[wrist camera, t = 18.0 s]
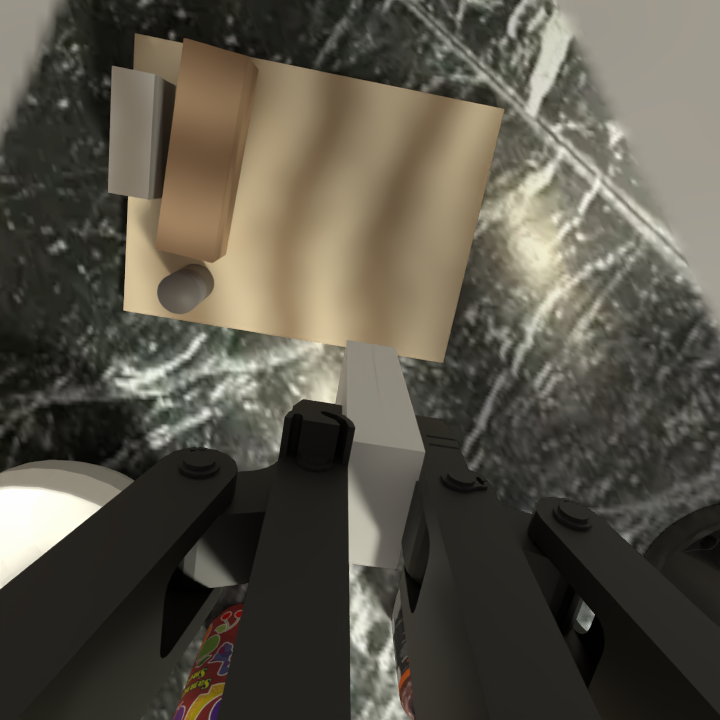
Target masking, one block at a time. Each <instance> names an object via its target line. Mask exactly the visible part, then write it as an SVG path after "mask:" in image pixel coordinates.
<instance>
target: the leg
mask: <svg viewBox="0 0 720 720" xmlns="http://www.w3.org/2000/svg"><path fill="white" fill-rule="evenodd" d="M258 71H259V70H258V68H257V67H256V66H255V65H254V63H253V62H252V61H251V60H250V58H249V57H248V56H245V55H242V54H238V53H235V52H232V51H228V50H225V49H221V48H218V47H214V46H211V45H207V44H204V43H201V42H197V41H194V40H190V39H187V38H184V40H183V47H182V55H181V62H180V69H179V77H178V84H177V92H176V99H175V106H174V114H173V121H172V129H171V136H170V143H169V151H168V158H167V165H166V173H165V180H164V188H163V195H162V202H161V210H160V217H159V225H158V232H157V239H156V247H155V249H157V250H161V251H165V252H169V253H173V254H177V255H181V256H185V257H189V258H193V259H197V260H201V261H206V262H210V263H214V262H215V261H217V260H218V259H220V258H222V257H223V256H225V255H226V252H227V246H228V240H229V235H230V229H231V223H232V218H233V212H234V206H235V201H236V195H237V190H238V184H239V178H240V173H241V167H242V161H243V156H244V150H245V144H246V139H247V133H248V127H249V122H250V116H251V110H252V105H253V99H254V94H255V88H256V82H257V77H258Z"/></svg>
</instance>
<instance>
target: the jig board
mask: <svg viewBox="0 0 720 720" xmlns="http://www.w3.org/2000/svg"><path fill="white" fill-rule="evenodd" d="M182 47H183V43H180V42H175V41H170V40H165V39H160V38H155V37H150V36H146V35H141V34H136V33H135V44H134V68H133V70H131V69H126V68H121V67H116V66H112V80H111V114H110V148H109V182H108V192H109V193H114V194H120V195H125V196H128V215H127V239H126V264H125V288H124V311H130V312H136V313H142V314H148V315H155V316H161V317H167V318H173V319H179V320H185V321H191V322H197V323H203V324H209V325H215V326H221V327H227V328H234V329H240V330H246V331H252V332H258V333H264V334H270V335H276V336H282V337H288V338H294V339H300V340H306V341H313V342H319V343H325V344H331V345H337V346H343V347H346V342H347V340H351V341H357V342H363V343H369V344H375V345H381V346H387V347H394V348H396V352H397V355H398V356H404V357H410V358H416V359H422V360H428V361H434V362H440V363H443V361H444V357H445V353H446V348H447V344H448V340H449V336H450V332H451V328H452V324H453V320H454V315H455V311H456V307H457V303H458V299H459V295H460V291H461V286H462V282H463V278H464V274H465V270H466V266H467V262H468V258H469V253H470V249H471V245H472V241H473V237H474V233H475V229H476V224H477V220H478V216H479V212H480V208H481V204H482V200H483V196H484V191H485V187H486V183H487V179H488V175H489V171H490V167H491V162H492V158H493V154H494V150H495V146H496V142H497V138H498V134H499V129H500V125H501V121H502V117H503V113H504V109H502V108H497V107H492V106H487V105H482V104H477V103H472V102H467V101H463V100H458V99H453V98H448V97H443V96H438V95H433V94H428V93H424V92H419V91H414V90H409V89H404V88H399V87H394V86H389V85H385V84H380V83H375V82H370V81H365V80H360V79H355V78H350V77H346V76H341V75H336V74H331V73H326V72H321V71H316V70H311V69H307V68H302V67H297V66H292V65H287V64H282V63H277V62H272V61H267V60H263V59H258V58H253V57H249V58H250V60H251V61H252V62H253V63H254V65H255V66H256V67H257V68H258V70H259V71H258V77H257V82H256V88H255V94H254V99H253V105H252V110H251V116H250V122H249V127H248V133H247V139H246V144H245V150H244V156H243V161H242V167H241V173H240V178H239V184H238V190H237V195H236V201H235V206H234V212H233V218H232V223H231V229H230V235H229V240H228V246H227V252H226V255H225V256H223V257H222V258H220V259H218V260H217V261H215V262H214V263H210V262H206V261H201V260H197V259H193V258H189V257H185V256H181V255H177V254H173V253H169V252H165V251H161V250H157V249H155V247H156V239H157V232H158V225H159V217H160V210H161V202H162V195H163V188H164V180H165V173H166V165H167V158H168V151H169V143H170V136H171V129H172V121H173V114H174V106H175V99H176V92H177V84H178V77H179V69H180V62H181V55H182Z"/></svg>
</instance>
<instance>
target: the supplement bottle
mask: <svg viewBox="0 0 720 720" xmlns="http://www.w3.org/2000/svg"><path fill="white" fill-rule="evenodd" d="M391 620H392V633H393V643H394V652H395V660H396V669H397V678H398V687H399V695H400V701H401V705H402V707H403V709H404V711H405V713H406V714H407V715H408V716H409V717H410V718H411V719H412V720H416V717H415V709H414V701H413V693H412V685H411V677H410V669H409V661H408V653H407V645H406V637H405V629H404V621H403V613H402V608H401V609H400V610H399V613H398V617H397V619H393V618H391Z"/></svg>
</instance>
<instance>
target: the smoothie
mask: <svg viewBox="0 0 720 720" xmlns="http://www.w3.org/2000/svg"><path fill="white" fill-rule="evenodd" d="M243 606H244V604H236V605H233V606H230V607H228V608H227V609H225V610H224V611H223V612H222V613H221V614H220V615H219V616H218V617H216V618H215V619H214V620H213V621H212V623H211V624H210V626H209V627H208V630H207V632H206V635H205V638H204V640H203V643H202V645H201V648H200V650H199V653H198V655H197V658H196V661H195V663H194V666H193V668H192V671H191V673H190V676H189V679H188V681H187V684H186V686H185V689H184V691H183V694H182V697H181V699H180V702H179V704H178V707H177V709H176V712H175V715H174V717H173V720H216V719H217V715H218V711H219V706H220V702H221V698H222V694H223V690H224V685H225V681H226V677H227V673H228V669H229V664H230V660H231V656H232V652H233V648H234V643H235V639H236V635H237V631H238V627H239V622H240V618H241V614H242V610H243Z"/></svg>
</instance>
